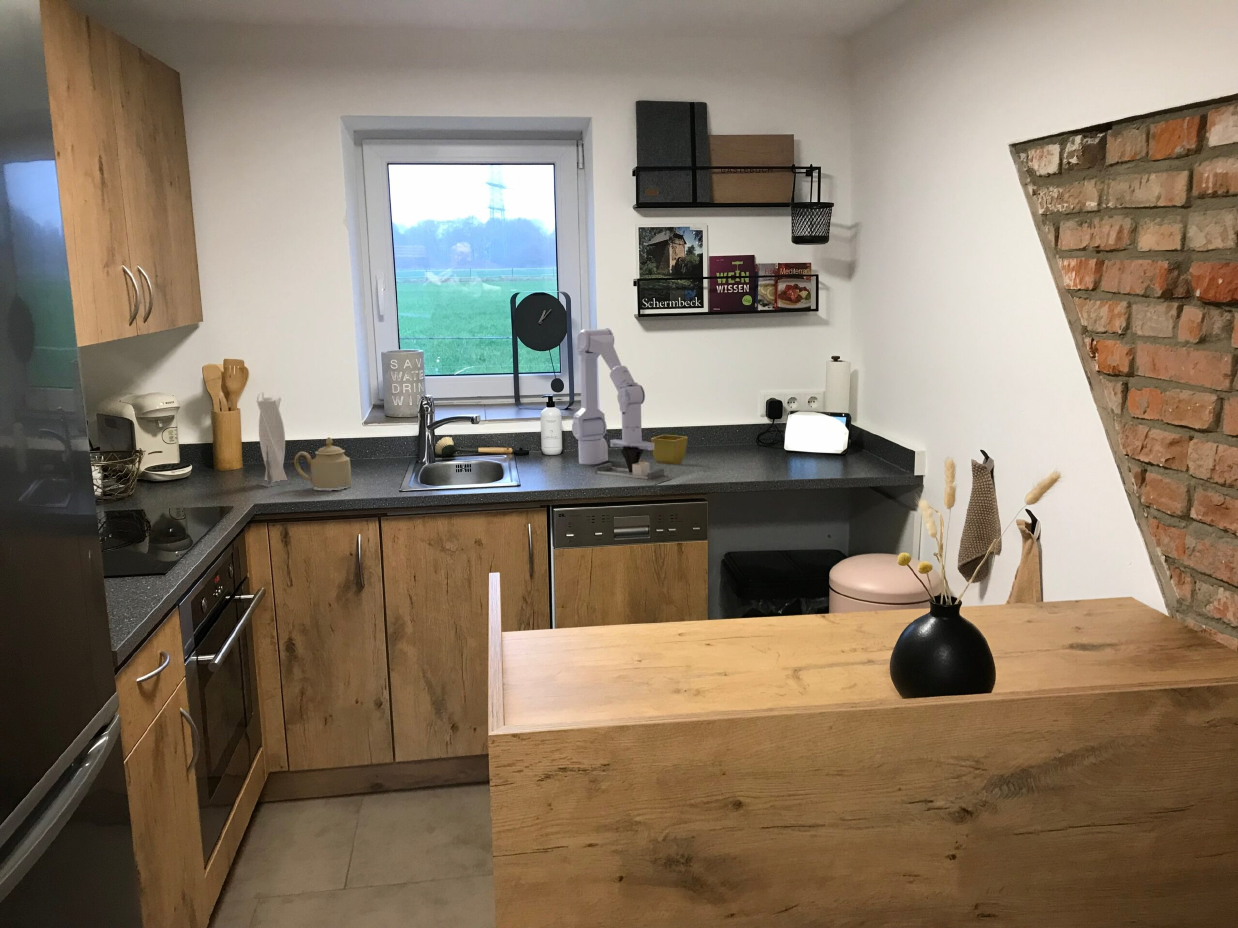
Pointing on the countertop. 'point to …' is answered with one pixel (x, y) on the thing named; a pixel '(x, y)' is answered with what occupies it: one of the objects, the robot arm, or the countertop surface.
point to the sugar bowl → (327, 467)
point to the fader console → (608, 466)
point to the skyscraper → (272, 438)
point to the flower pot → (669, 448)
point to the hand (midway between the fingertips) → (632, 472)
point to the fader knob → (640, 468)
